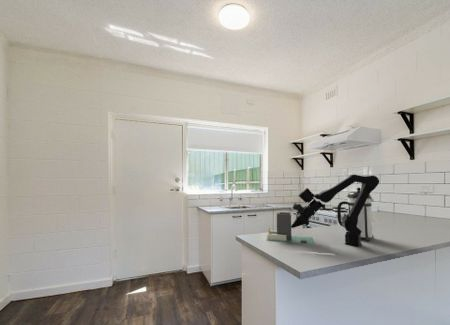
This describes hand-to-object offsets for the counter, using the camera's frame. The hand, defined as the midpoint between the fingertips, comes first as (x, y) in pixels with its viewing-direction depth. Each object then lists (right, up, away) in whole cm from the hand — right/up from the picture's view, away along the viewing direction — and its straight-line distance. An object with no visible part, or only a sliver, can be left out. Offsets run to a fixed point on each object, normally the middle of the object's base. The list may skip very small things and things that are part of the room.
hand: (291, 227), depth 130 cm
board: (-1, -7, 0) cm, 7 cm away
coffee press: (+42, -8, +6) cm, 43 cm away
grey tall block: (-4, -7, +1) cm, 8 cm away
